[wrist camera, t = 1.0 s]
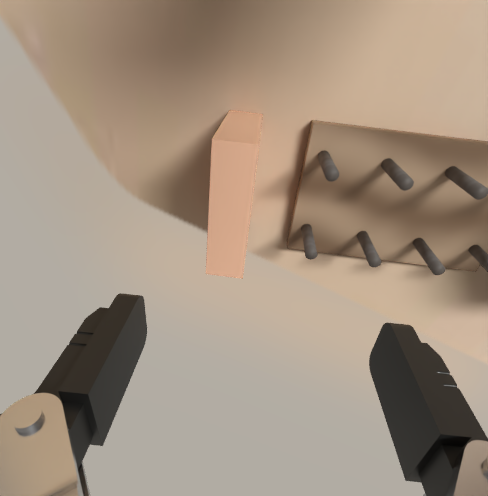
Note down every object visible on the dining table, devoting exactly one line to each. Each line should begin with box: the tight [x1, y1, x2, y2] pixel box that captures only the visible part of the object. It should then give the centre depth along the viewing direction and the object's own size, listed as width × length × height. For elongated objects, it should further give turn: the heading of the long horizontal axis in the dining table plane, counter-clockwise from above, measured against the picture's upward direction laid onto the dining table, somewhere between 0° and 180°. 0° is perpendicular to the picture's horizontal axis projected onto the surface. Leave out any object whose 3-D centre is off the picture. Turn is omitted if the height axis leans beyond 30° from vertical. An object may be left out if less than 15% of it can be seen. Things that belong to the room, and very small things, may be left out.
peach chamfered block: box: [206, 110, 263, 278], centre depth 25 cm, size 10×3×10 cm, turn 174°
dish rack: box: [287, 120, 488, 275], centre depth 27 cm, size 12×19×6 cm, turn 84°
